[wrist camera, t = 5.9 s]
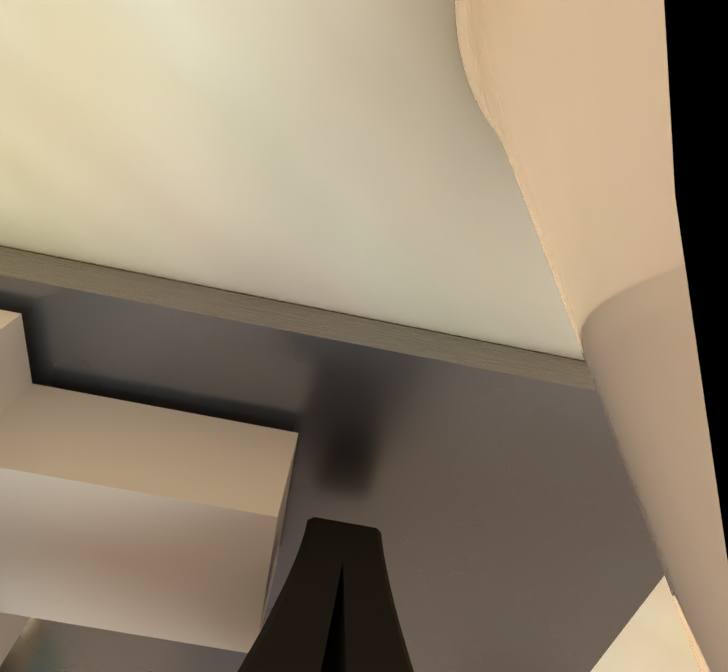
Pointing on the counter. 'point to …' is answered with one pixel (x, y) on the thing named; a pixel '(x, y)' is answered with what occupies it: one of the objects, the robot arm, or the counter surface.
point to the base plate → (367, 463)
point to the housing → (133, 513)
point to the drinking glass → (632, 242)
